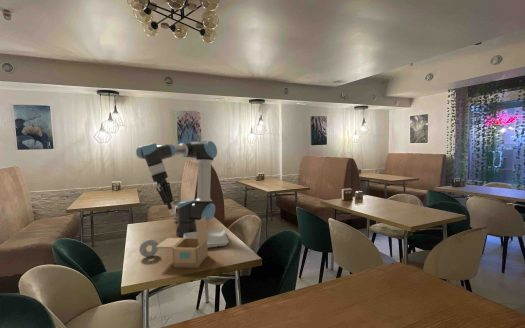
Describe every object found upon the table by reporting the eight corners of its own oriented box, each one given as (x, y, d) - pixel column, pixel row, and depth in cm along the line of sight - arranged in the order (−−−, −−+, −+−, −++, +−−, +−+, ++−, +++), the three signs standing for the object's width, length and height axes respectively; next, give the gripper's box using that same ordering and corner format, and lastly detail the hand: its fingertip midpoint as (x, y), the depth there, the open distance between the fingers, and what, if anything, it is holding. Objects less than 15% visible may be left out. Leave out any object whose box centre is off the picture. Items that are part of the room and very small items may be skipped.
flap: (204, 216, 147) (205, 216, 146) (206, 238, 147) (208, 237, 147) (195, 223, 134) (197, 223, 134) (198, 247, 134) (200, 246, 134)
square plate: (184, 238, 181) (183, 232, 180) (224, 233, 187) (224, 228, 187) (181, 253, 154) (181, 246, 154) (229, 247, 160) (229, 241, 160)
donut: (140, 260, 146) (139, 242, 145) (139, 258, 149) (138, 240, 148) (159, 255, 151) (158, 238, 151) (158, 253, 154) (157, 236, 153)
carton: (169, 255, 151) (168, 237, 151) (207, 255, 149) (206, 237, 148) (155, 267, 136) (153, 248, 135) (197, 268, 133) (196, 248, 132)
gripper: (156, 172, 148) (171, 212, 151) (146, 177, 135) (162, 220, 138) (169, 168, 148) (183, 208, 151) (160, 172, 135) (175, 216, 138)
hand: (173, 214), depth 144 cm, fingers closed
